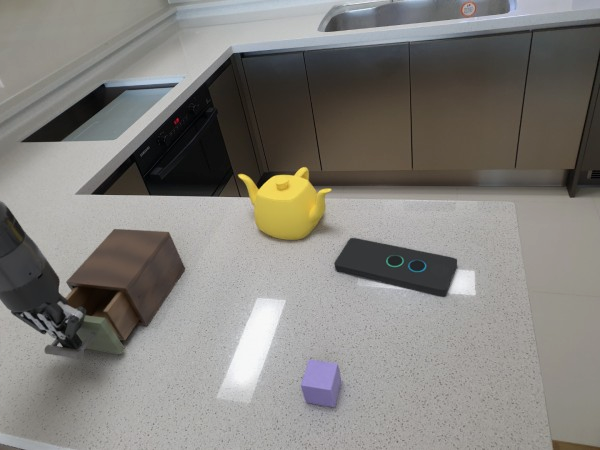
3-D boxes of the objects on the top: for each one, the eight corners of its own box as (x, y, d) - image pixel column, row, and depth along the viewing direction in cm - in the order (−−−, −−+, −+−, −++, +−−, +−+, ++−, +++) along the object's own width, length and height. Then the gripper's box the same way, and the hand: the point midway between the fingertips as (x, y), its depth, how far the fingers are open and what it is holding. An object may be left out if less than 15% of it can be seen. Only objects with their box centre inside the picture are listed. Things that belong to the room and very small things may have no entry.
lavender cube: (334, 407, 63) (330, 390, 60) (305, 402, 64) (300, 385, 61) (341, 380, 66) (337, 363, 63) (313, 376, 67) (308, 359, 65)
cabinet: (147, 326, 81) (125, 288, 75) (90, 318, 85) (65, 282, 79) (185, 268, 91) (169, 231, 86) (133, 264, 96) (114, 228, 90)
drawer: (104, 379, 72) (81, 348, 67) (48, 369, 76) (23, 339, 71) (161, 294, 85) (146, 263, 81) (112, 289, 89) (94, 259, 84)
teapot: (356, 206, 98) (351, 162, 92) (323, 252, 88) (314, 207, 82) (271, 191, 109) (261, 150, 102) (233, 230, 99) (219, 189, 92)
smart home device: (445, 291, 73) (332, 264, 82) (445, 298, 74) (333, 271, 84) (458, 257, 78) (350, 235, 88) (458, 264, 80) (351, 242, 89)
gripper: (-40, 285, 63) (27, 361, 73) (34, 294, 58) (94, 374, 69) (2, 249, 68) (59, 325, 79) (72, 254, 64) (122, 334, 74)
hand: (75, 347), depth 74 cm, fingers closed
